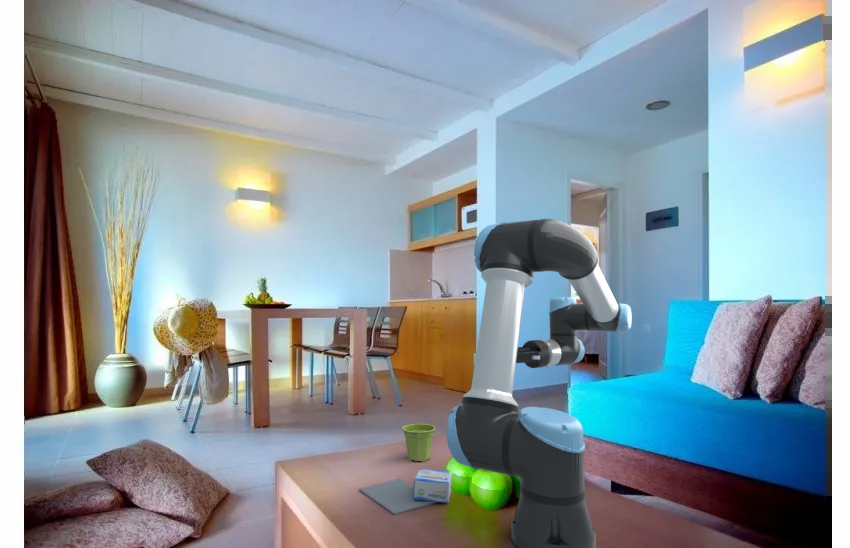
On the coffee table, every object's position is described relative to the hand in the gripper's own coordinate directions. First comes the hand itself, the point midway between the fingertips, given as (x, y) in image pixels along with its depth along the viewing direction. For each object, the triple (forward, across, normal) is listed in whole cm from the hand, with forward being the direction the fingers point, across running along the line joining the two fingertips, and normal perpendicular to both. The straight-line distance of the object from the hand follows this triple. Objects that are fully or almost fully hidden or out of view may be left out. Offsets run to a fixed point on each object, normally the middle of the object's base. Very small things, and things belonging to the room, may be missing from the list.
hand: (475, 359), depth 120 cm
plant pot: (+1, +23, -30) cm, 38 cm away
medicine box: (+11, +2, -28) cm, 30 cm away
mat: (+20, +4, -30) cm, 37 cm away
